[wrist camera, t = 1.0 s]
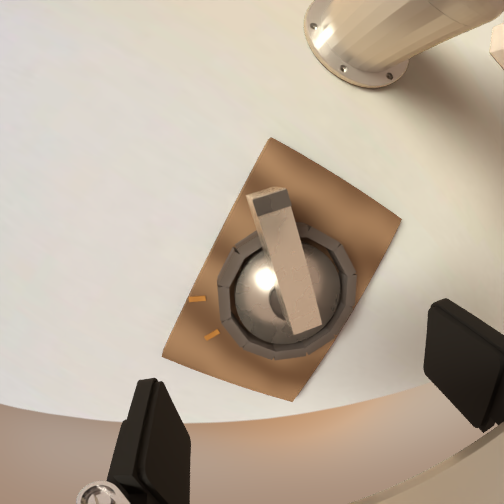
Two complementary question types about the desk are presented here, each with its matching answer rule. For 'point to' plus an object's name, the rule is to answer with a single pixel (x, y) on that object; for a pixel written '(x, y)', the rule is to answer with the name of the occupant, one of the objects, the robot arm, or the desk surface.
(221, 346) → the dial base
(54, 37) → the desk surface
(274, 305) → the dial
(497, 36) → the medicine bottle
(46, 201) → the desk surface
